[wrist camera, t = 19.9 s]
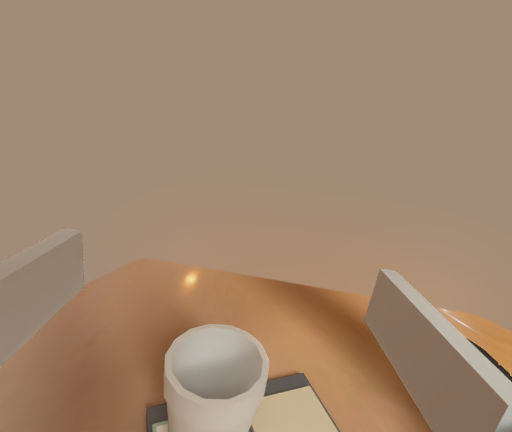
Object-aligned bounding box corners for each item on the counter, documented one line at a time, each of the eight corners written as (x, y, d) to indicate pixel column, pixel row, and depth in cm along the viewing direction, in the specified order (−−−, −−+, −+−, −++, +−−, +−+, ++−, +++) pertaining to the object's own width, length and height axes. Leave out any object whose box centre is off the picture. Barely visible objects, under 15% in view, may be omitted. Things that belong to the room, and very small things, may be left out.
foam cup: (260, 501, 27) (285, 396, 23) (156, 533, 24) (165, 418, 20) (236, 408, 35) (251, 320, 32) (158, 422, 32) (164, 327, 28)
